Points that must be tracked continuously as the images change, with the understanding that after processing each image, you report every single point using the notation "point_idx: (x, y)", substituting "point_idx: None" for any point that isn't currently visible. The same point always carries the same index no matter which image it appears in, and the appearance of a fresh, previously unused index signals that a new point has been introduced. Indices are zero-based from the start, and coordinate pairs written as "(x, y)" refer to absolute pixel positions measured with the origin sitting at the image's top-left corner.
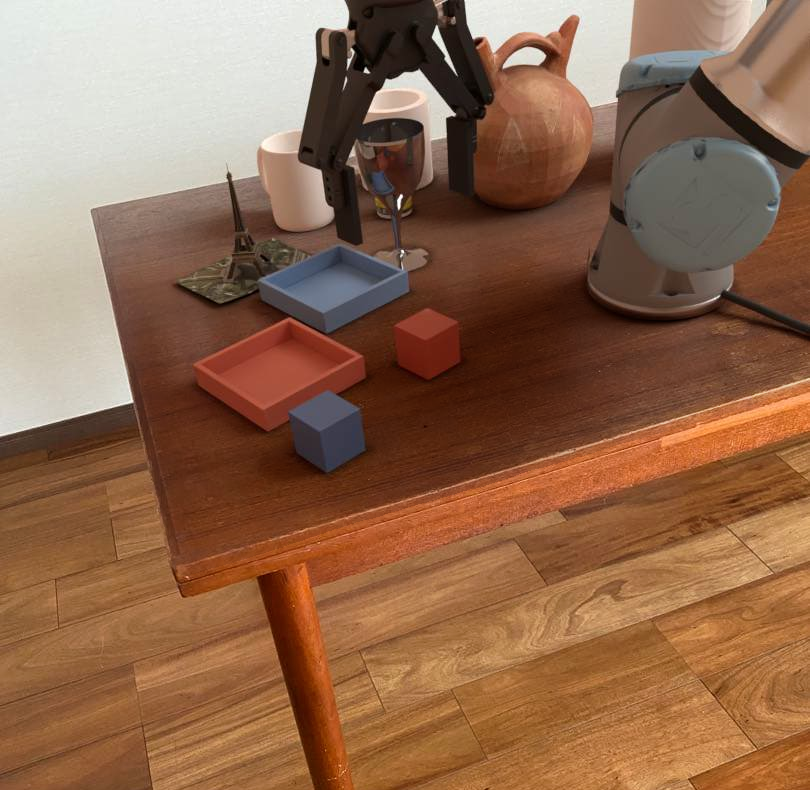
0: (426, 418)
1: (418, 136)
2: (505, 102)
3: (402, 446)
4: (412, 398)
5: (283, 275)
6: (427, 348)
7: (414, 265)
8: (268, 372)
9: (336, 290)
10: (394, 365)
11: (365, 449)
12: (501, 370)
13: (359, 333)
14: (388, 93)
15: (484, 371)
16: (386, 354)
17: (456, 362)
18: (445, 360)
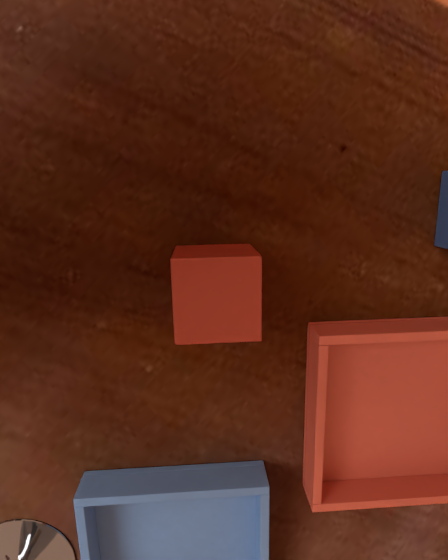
0: (326, 164)
1: None
2: None
3: (401, 135)
4: (301, 224)
5: None
6: (254, 252)
7: (21, 528)
8: (397, 429)
9: (173, 545)
10: None
11: (442, 171)
12: (145, 173)
13: (227, 427)
14: None
15: (167, 193)
16: (240, 351)
17: (184, 245)
18: (210, 247)
